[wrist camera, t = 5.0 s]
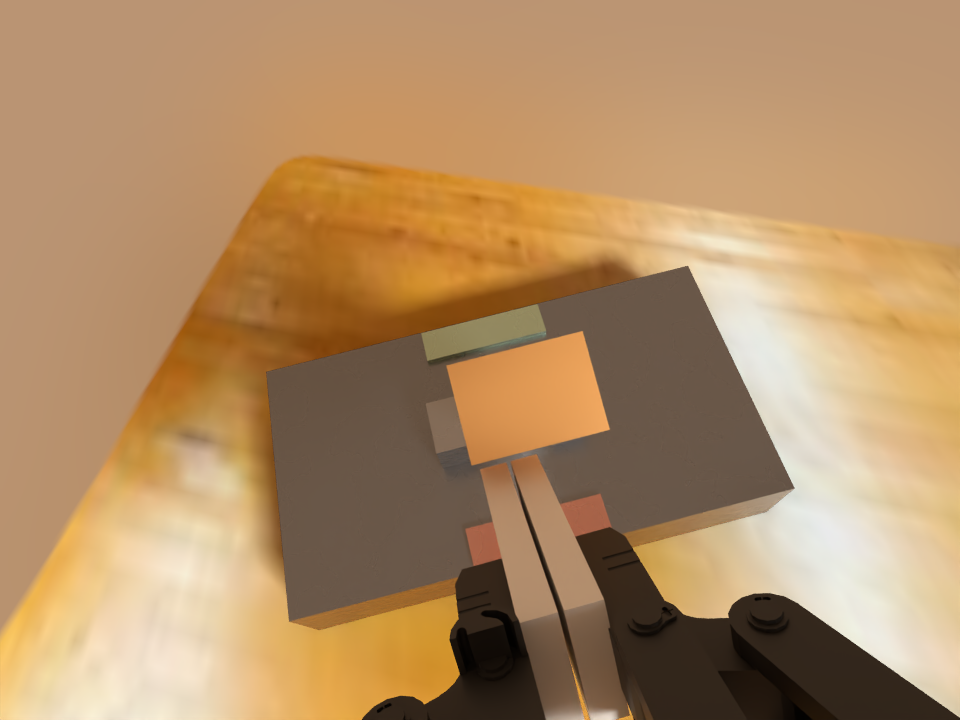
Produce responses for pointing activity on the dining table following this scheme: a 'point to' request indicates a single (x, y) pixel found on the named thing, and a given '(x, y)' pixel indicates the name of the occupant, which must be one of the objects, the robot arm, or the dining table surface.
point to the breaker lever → (527, 398)
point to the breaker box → (568, 465)
